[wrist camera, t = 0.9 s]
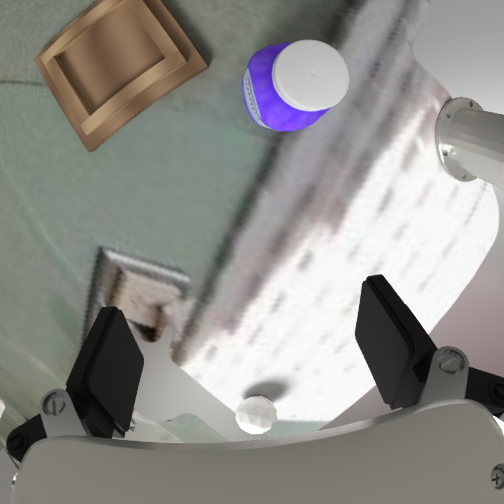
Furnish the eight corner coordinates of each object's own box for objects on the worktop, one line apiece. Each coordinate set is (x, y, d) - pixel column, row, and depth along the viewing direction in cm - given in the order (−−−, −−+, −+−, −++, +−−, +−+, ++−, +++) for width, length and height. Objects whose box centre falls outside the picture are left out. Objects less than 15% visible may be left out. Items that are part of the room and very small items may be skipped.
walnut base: (142, -23, 19) (135, -31, 16) (208, 68, 26) (206, 64, 23) (39, 60, 22) (28, 58, 19) (94, 150, 29) (84, 154, 26)
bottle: (234, 70, 26) (242, 22, 11) (286, 60, 26) (346, 12, 11) (251, 131, 30) (277, 152, 14) (301, 120, 29) (375, 133, 14)
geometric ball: (244, 386, 53) (232, 401, 46) (283, 394, 51) (276, 411, 43) (239, 417, 53) (227, 434, 45) (277, 425, 51) (269, 445, 43)
